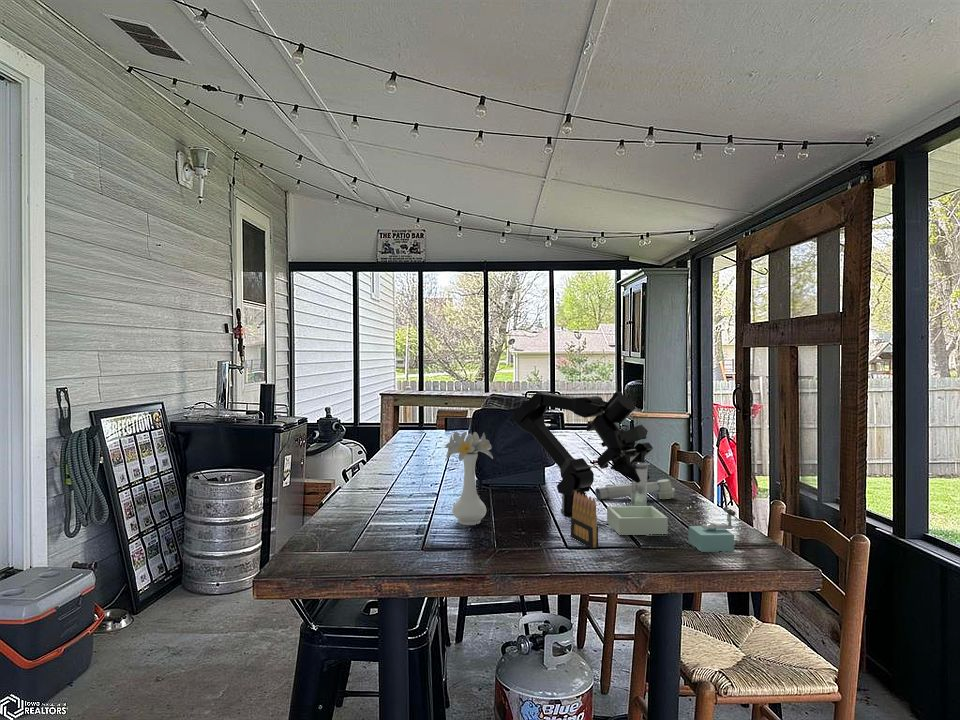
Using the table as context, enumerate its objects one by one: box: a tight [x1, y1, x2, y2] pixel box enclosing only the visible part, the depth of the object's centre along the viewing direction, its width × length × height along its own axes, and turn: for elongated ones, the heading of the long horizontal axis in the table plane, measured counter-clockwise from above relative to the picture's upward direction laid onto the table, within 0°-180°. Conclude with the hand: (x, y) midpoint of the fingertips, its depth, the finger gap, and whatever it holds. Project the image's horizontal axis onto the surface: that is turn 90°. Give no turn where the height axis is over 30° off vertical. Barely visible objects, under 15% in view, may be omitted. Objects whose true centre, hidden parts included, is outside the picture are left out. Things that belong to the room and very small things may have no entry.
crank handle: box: [701, 506, 736, 531], centre depth 165 cm, size 7×5×5 cm
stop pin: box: [630, 461, 649, 506], centre depth 180 cm, size 4×4×11 cm
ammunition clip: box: [570, 491, 599, 550], centre depth 168 cm, size 11×2×12 cm, turn 21°
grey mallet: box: [594, 478, 676, 501], centre depth 215 cm, size 5×7×25 cm
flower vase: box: [444, 431, 494, 526], centre depth 186 cm, size 13×18×25 cm
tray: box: [606, 505, 669, 536], centre depth 180 cm, size 13×13×4 cm
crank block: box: [688, 525, 735, 553], centre depth 165 cm, size 8×8×4 cm
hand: (643, 480), depth 179 cm, fingers closed on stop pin, 4 cm apart
